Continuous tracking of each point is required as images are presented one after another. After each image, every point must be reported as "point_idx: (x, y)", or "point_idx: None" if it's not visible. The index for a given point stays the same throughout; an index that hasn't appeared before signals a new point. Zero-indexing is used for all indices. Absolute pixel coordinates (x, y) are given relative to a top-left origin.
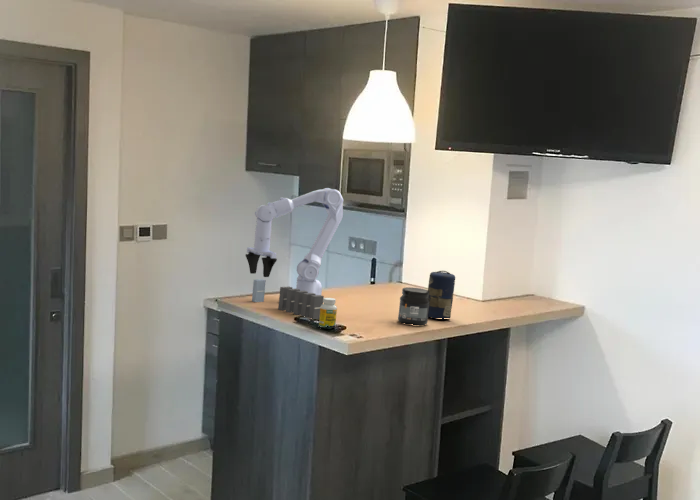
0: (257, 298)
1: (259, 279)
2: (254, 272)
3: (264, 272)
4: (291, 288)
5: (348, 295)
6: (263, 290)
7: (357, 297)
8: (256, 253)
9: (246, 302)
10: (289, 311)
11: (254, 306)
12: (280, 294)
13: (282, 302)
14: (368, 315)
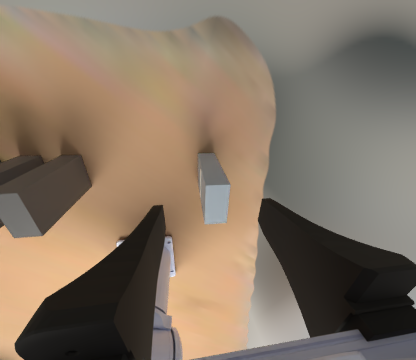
0: (198, 164)
1: (226, 210)
2: (261, 217)
3: (144, 218)
4: (14, 230)
5: (197, 334)
6: (200, 195)
7: (180, 338)
8: (323, 349)
9: (203, 123)
10: (15, 157)
11: (137, 104)
12: (39, 176)
13: (43, 165)
14: (6, 304)
